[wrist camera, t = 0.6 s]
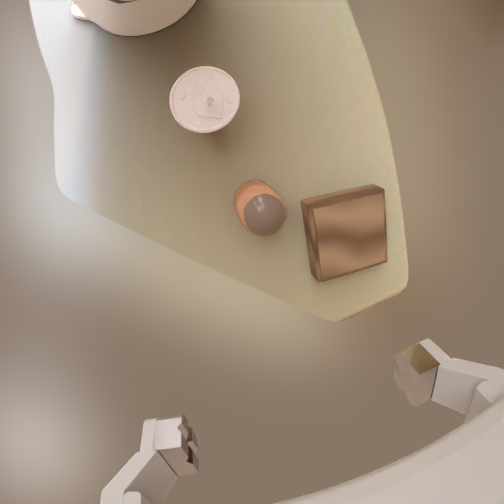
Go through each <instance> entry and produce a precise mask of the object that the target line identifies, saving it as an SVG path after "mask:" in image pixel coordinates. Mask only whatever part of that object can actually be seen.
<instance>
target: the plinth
mask: <svg viewBox="0 0 504 504" xmlns="http://www.w3.org/2000/svg"><path fill="white" fill-rule="evenodd" d="M301 205H302V211H303V218H304V224H305V231H306V238H307V245H308V252H309V259H310V267H311V273H312V275H313V276H314V277H315V279H316V280H317V281H318V283H319V282H323V281H326V280H330V279H333V278H336V277H340V276H343V275H346V274H349V273H353V272H356V271H359V270H362V269H366V268H369V267H372V266H375V265H378V264H381V263H385V262H387V234H386V210H385V193H384V189H383V188H381V187H379V186H376V185H374V184H371V185H367V186H362V187H357V188H353V189H348V190H343V191H339V192H334V193H330V194H326V195H321V196H317V197H312V198H308V199H304V200H301Z"/></svg>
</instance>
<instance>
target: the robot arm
mask: <svg viewBox="0 0 504 504" xmlns="http://www.w3.org/2000/svg"><path fill="white" fill-rule="evenodd" d="M195 2H196V0H72V5H71V13H72V15H73V16H74V17H75V18H77V19H82V20H90V21H92V22H94V23H96V24H97V25H98V26H100V27H101V28H102V29H104V30H106V31H108V32H110V33H113V34H117V35H123V36H138V35H145V34H149V33H153V32H156V31H159V30H161V29H163V28H166V27H168V26H169V25H171V24H173V23H174V22H176V21H177V20H179V19H180V18H181V17H183V16H184V15H185V14H186V13H187V12H188V11H189V10H190V9H191V7H192V6H193V5H194V3H195ZM394 361H395V362H396V363H397V364H396V366H395V368H394V372H393V375H394V380H395V382H396V385H397V386H398V388H399V389H400V390H402V391H405V392H406V398H407V399H408V401H409V402H410V403H411V405H412V406H413V407H415V406H417V405H420V404H422V403H424V402H426V401H428V400H430V399H432V400H433V401H435V402H437V403H440V404H442V405H445V406H447V407H449V408H451V409H454V410H456V411H459V412H461V413H463V414H466V415H467V416H466V418H465V421H464V423H463V425H461V426H460V427H458V428H456V429H455V430H453V431H451V432H450V433H448V434H446V435H445V436H443V437H441V438H440V439H438V440H436V441H434V442H432V443H431V444H429V445H427V446H425V447H423V448H422V449H419V450H417V451H416V452H414V453H412V454H410V455H408V456H406V457H403V458H401V459H400V460H397V461H395V462H393V463H391V464H389V465H386V466H384V467H382V468H380V469H377V470H375V471H372V472H370V473H368V474H365V475H363V476H360V477H357V478H355V479H352V480H350V481H347V482H344V483H341V484H338V485H336V486H333V487H330V488H327V489H324V490H321V491H318V492H314V493H311V494H307V495H304V496H301V497H297V498H293V499H289V500H285V501H281V502H277V503H273V504H504V370H503V369H501V368H497V367H493V366H488V365H483V364H479V363H475V362H470V361H465V360H462V359H457V358H453V359H451V358H450V357H449V356H447V354H445V353H444V352H443V351H442V350H441V349H440V348H439V347H438V346H437V345H436V344H435V343H434V342H433V341H431V340H430V339H425V340H423V341H421V342H419V343H417V344H414V345H412V346H410V347H408V348H405V349H403V350H401V351H398V352H396V354H395V357H394ZM197 451H198V443H197V439H196V435H195V433H194V431H193V429H192V428H191V427H189V426H188V420H187V418H186V417H185V415H177V416H169V417H162V418H155V419H146V420H145V422H144V425H143V432H142V439H141V447H140V452H136V453H135V455H134V456H133V457H132V458H131V459H130V460H129V461H128V462H127V464H126V465H125V466H124V467H123V468H122V469H121V470H120V471H119V472H118V474H117V475H116V476H115V477H114V478H113V479H112V480H111V481H110V483H108V485H107V486H106V487H105V488H104V489H103V490H102V495H101V500H100V504H162V503H163V501H164V499H165V498H166V496H167V495H168V493H169V491H170V490H171V488H172V486H173V485H174V483H175V481H176V480H177V478H178V477H177V476H181V475H189V474H195V473H199V461H198V458H197V456H196V455H195V454H196V452H197Z"/></svg>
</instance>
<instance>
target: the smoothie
mask: <svg viewBox="0 0 504 504" xmlns="http://www.w3.org/2000/svg"><path fill="white" fill-rule="evenodd" d="M169 103H170V109H171V112H172V115H173V116H174V118H175V120H176V121H177V122H178V123H179V124H180V125H181V126H182V127H184V128H186V129H188V130H190V131H193V132H197V133H210V132H213V131H217V130H219V129H221V128H223V127H224V126H226V125H227V124H228V123H229V122H230V121H231V120H232V119H233V118H234V116H235V114H236V113H237V110H238V108H239V103H240V93H239V89H238V86H237V84H236V82H235V81H234V79H233V78H232V77H231V76H230V75H229V74H228V73H226V72H225V71H223V70H221V69H219V68H216V67H211V66H200V67H196V68H193V69H190V70H188V71H186V72H185V73H183V74H182V75H181V76H180V77H179V78H178V79H177V80H176V82H175V83H174V85H173V87H172V89H171V92H170V98H169Z"/></svg>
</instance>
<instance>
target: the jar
mask: <svg viewBox="0 0 504 504" xmlns="http://www.w3.org/2000/svg"><path fill="white" fill-rule="evenodd" d="M234 205H235V207H236V210H237V212H238V214H239V216H240V218H241V221H242V223H243V225H244V227H245V228H246V229H247V230H248V231H249V232H251V233H253V234H255V235H259V236H266V235H270V234H273V233H275V232H276V231H277V230H279V229H280V228H281V226H282V225H283V224H284V222H285V219H286V214H287V210H286V205H285V203H284V201H283V200H282V198H281V197H280V196H279V195H277V194H276V193H275V192H274V191H273V190H272V189H271V188H270V187H269V186H268V185H266V184H265V183H263V182H261V181H257V180H252V181H248V182H245V183H243V184H242V185H241V186H240V187H239V188H238V189H237V191H236V193H235V196H234Z"/></svg>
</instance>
